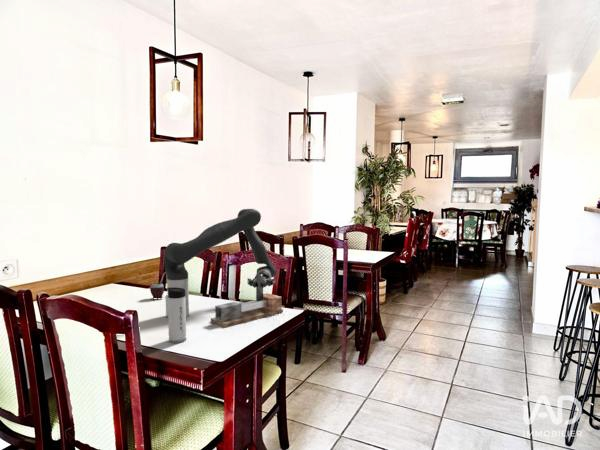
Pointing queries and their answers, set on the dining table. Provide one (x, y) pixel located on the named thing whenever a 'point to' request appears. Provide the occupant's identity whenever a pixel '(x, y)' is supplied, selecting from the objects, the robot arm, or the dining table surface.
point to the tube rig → (246, 312)
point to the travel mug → (177, 314)
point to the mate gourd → (157, 289)
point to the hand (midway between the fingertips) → (258, 285)
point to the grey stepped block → (259, 297)
